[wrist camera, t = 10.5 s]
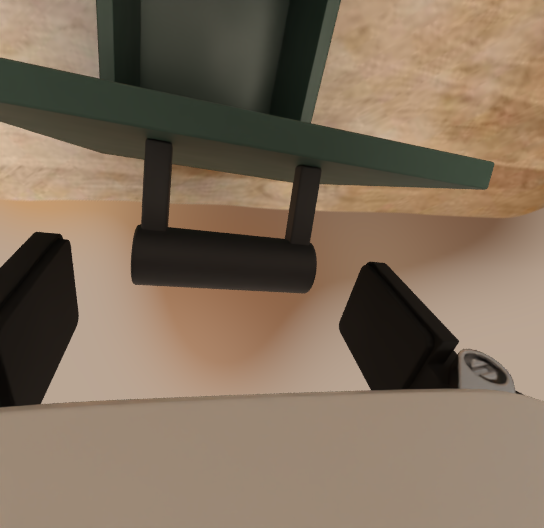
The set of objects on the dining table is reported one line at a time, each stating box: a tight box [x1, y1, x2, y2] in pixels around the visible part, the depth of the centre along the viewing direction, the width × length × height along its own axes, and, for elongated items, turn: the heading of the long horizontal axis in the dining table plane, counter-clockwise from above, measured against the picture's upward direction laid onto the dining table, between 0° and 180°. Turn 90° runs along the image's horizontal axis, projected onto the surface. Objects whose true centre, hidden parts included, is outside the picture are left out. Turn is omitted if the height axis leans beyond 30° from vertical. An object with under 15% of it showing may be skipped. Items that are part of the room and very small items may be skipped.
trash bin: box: [96, 0, 341, 123], centre depth 25 cm, size 16×14×12 cm
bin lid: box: [0, 58, 494, 293], centre depth 16 cm, size 17×14×5 cm
